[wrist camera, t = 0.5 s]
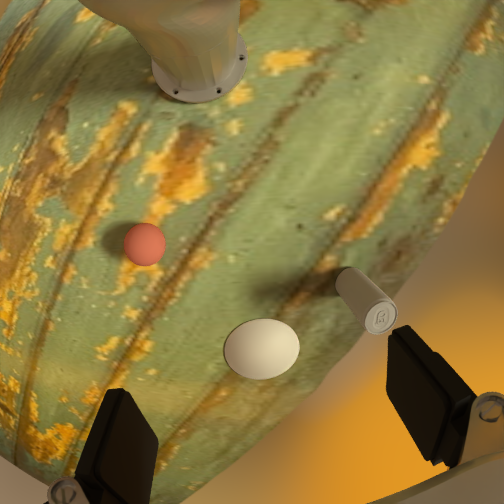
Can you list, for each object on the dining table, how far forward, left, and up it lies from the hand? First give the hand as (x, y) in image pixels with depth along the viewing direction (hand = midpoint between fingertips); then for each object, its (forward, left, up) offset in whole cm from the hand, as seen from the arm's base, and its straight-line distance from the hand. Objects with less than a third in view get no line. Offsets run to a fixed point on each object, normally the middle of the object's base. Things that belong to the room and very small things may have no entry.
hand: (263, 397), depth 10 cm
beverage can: (+17, +10, -34) cm, 39 cm away
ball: (-3, -12, -31) cm, 33 cm away
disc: (+21, -7, -34) cm, 41 cm away
